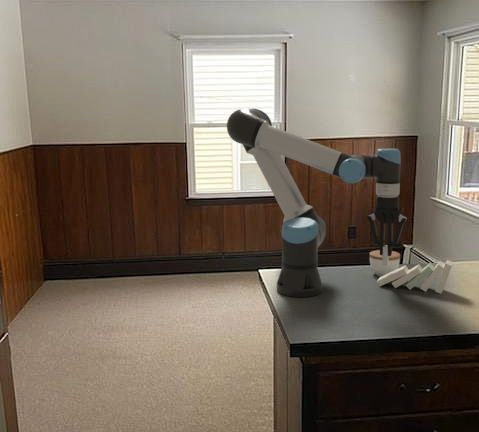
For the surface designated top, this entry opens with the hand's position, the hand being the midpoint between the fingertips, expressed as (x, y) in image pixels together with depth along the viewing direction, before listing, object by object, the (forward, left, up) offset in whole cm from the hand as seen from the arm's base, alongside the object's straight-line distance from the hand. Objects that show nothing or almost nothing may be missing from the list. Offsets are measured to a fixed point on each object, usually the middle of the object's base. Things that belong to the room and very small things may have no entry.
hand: (385, 264), depth 177 cm
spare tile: (+8, 0, -6) cm, 10 cm away
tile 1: (-2, 0, -6) cm, 6 cm away
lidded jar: (-3, +12, -7) cm, 14 cm away
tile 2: (+3, 0, -6) cm, 7 cm away
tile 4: (+13, 0, -7) cm, 14 cm away
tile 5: (+17, 0, -7) cm, 19 cm away
